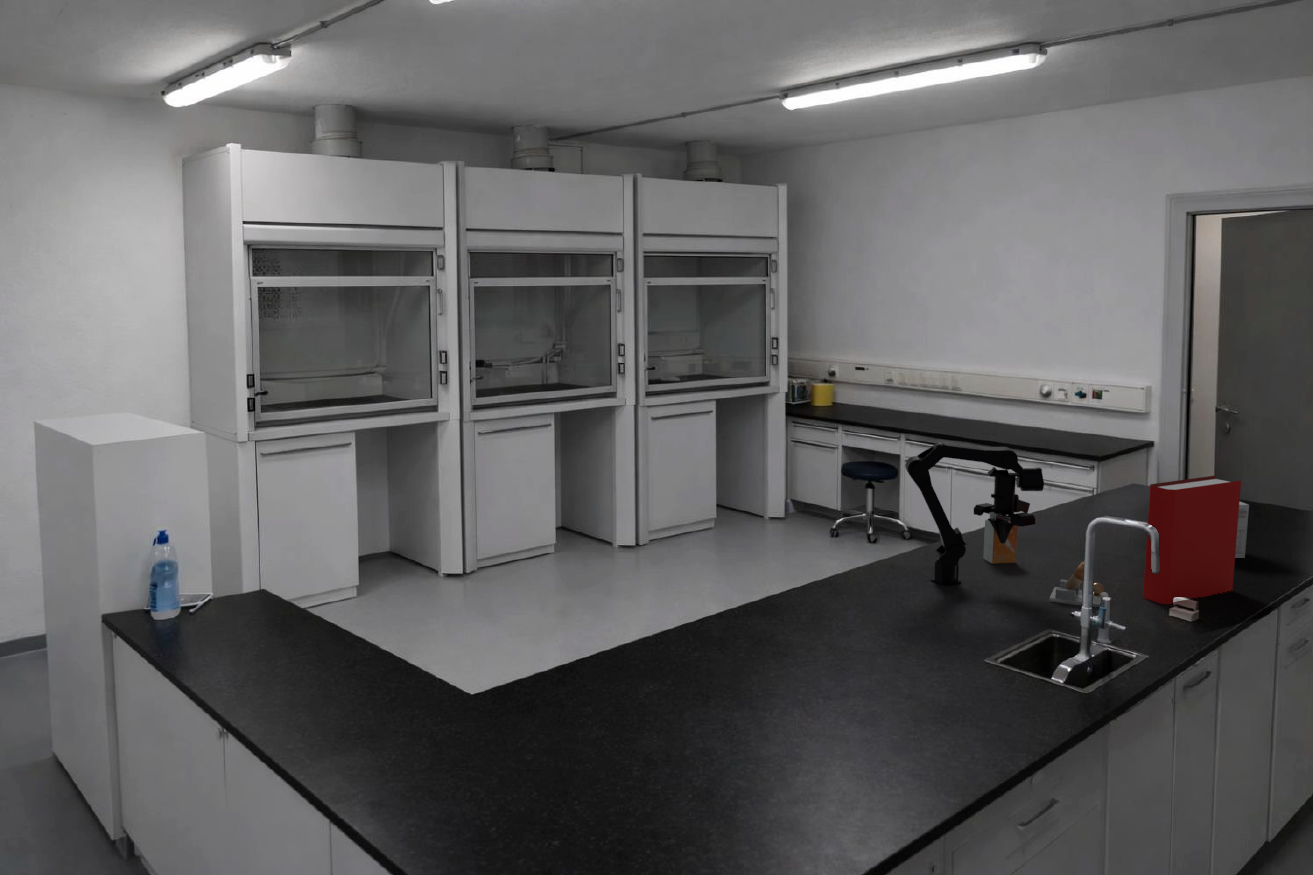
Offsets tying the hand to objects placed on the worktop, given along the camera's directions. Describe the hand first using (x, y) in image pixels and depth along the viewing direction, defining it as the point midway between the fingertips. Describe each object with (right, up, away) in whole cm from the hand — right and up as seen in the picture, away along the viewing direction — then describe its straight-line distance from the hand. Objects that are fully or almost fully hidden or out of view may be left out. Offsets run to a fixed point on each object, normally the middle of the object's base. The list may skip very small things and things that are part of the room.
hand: (1002, 543), depth 294 cm
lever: (+14, -12, -13) cm, 22 cm away
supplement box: (+78, -7, +29) cm, 84 cm away
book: (+48, -13, -10) cm, 51 cm away
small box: (+7, -8, +25) cm, 27 cm away
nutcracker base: (+16, -14, -14) cm, 26 cm away
